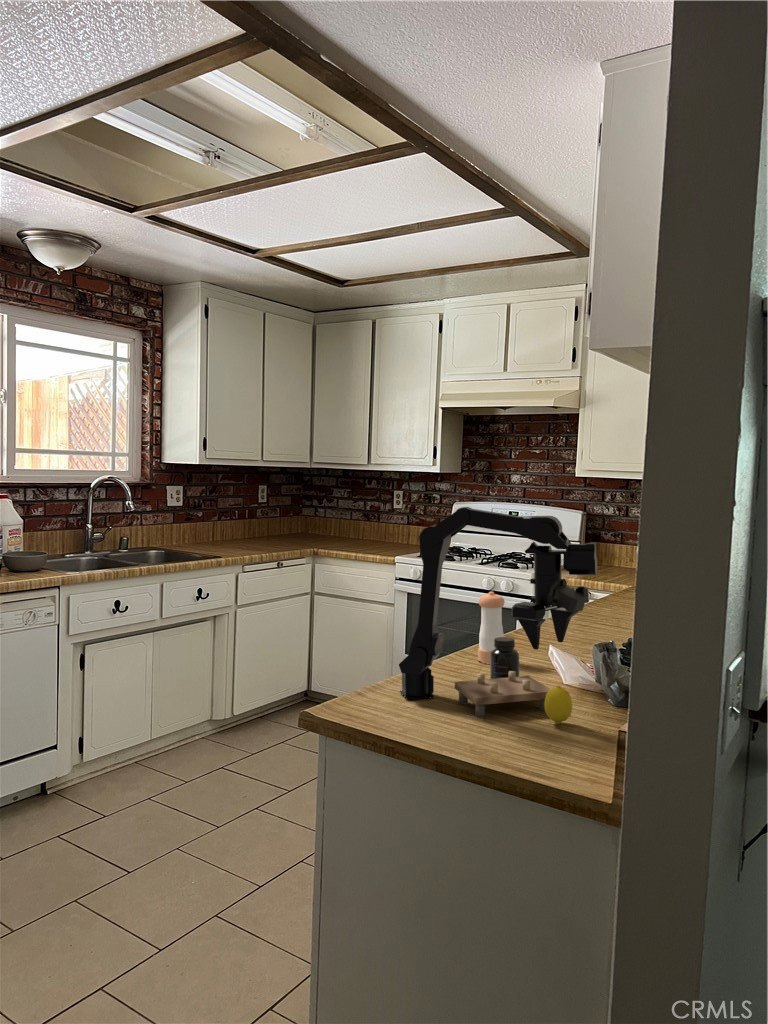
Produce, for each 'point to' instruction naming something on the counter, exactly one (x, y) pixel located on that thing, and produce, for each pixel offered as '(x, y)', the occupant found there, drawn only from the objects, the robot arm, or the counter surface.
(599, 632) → the counter surface
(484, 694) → the peg shelf
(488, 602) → the pepper shaker
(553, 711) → the lemon
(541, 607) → the robot arm
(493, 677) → the supplement bottle
